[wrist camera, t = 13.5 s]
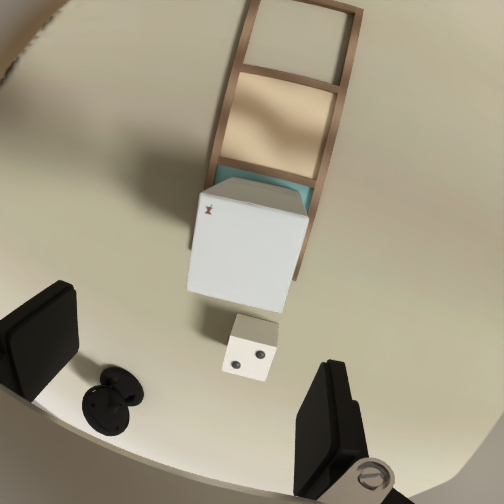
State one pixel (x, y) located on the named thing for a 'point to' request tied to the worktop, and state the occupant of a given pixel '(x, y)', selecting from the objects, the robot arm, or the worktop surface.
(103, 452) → the robot arm
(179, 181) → the worktop surface
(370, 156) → the worktop surface
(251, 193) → the supplement box
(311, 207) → the board
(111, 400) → the webcam
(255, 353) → the die
